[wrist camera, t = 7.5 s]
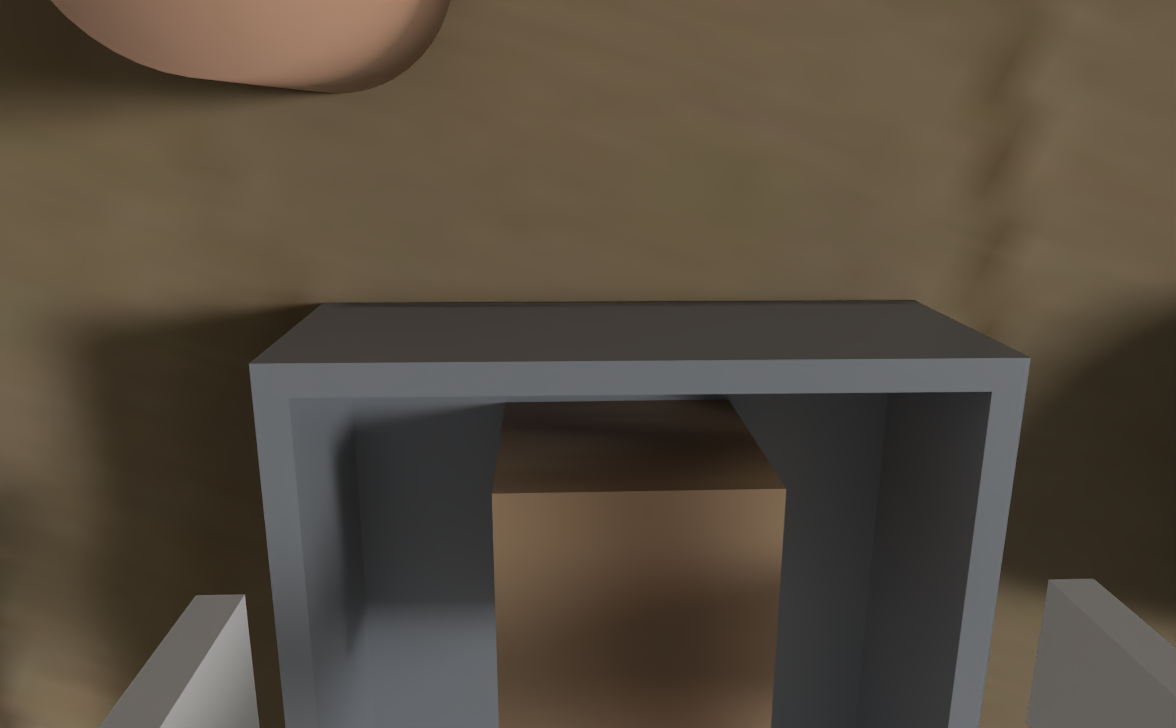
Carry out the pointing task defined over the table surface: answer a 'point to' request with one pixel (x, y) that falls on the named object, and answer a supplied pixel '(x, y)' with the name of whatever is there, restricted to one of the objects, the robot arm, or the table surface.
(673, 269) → the table surface
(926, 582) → the tote
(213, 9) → the glossy tan capsule
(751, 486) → the walnut cube
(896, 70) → the table surface
